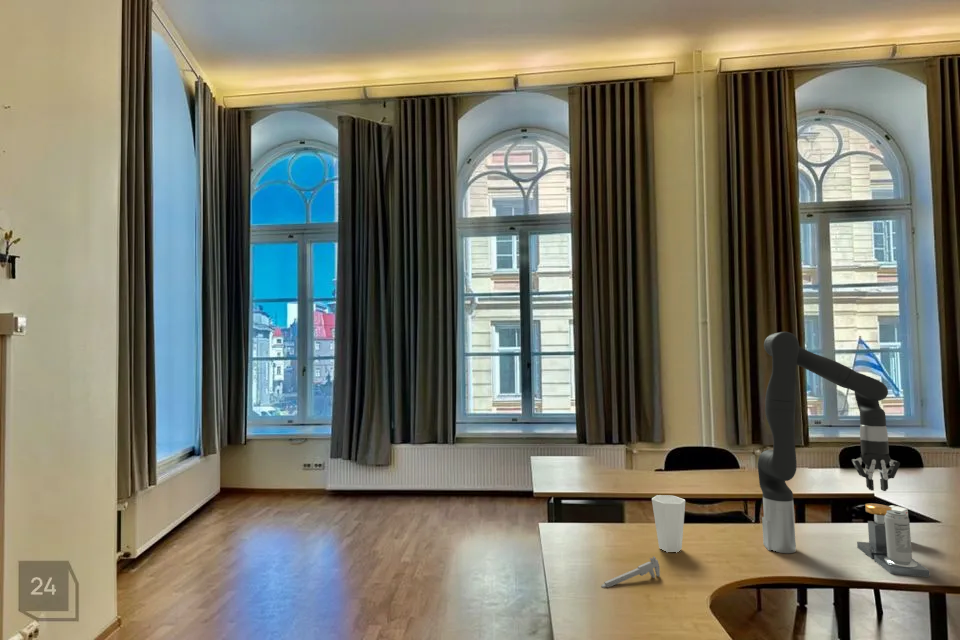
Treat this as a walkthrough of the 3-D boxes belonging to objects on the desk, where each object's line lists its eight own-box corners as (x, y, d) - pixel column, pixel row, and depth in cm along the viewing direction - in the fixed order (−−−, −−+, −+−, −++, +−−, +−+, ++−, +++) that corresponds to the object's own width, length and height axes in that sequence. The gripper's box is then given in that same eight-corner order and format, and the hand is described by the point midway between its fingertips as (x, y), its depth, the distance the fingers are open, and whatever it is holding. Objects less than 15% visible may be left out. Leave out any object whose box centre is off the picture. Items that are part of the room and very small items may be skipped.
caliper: (657, 576, 156) (656, 555, 157) (659, 577, 155) (659, 556, 156) (600, 587, 149) (600, 565, 150) (603, 589, 148) (602, 566, 149)
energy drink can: (903, 557, 162) (899, 509, 163) (917, 565, 156) (913, 515, 157) (883, 557, 162) (879, 509, 164) (896, 565, 156) (892, 515, 158)
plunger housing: (871, 558, 167) (869, 527, 168) (857, 547, 177) (855, 518, 177) (907, 561, 164) (905, 529, 165) (891, 549, 174) (889, 520, 175)
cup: (693, 552, 174) (691, 501, 175) (670, 557, 170) (668, 505, 171) (670, 541, 184) (668, 493, 185) (647, 545, 180) (646, 496, 181)
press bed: (890, 573, 155) (890, 566, 155) (874, 561, 165) (874, 554, 165) (929, 577, 153) (929, 569, 153) (910, 563, 162) (910, 556, 163)
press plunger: (873, 536, 168) (871, 508, 169) (863, 529, 175) (861, 502, 176) (898, 538, 167) (896, 510, 167) (886, 531, 173) (885, 504, 174)
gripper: (892, 437, 175) (895, 488, 174) (845, 436, 179) (848, 486, 177) (904, 441, 168) (908, 494, 167) (855, 439, 171) (858, 492, 170)
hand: (877, 490), depth 172 cm, fingers open, 3 cm apart
